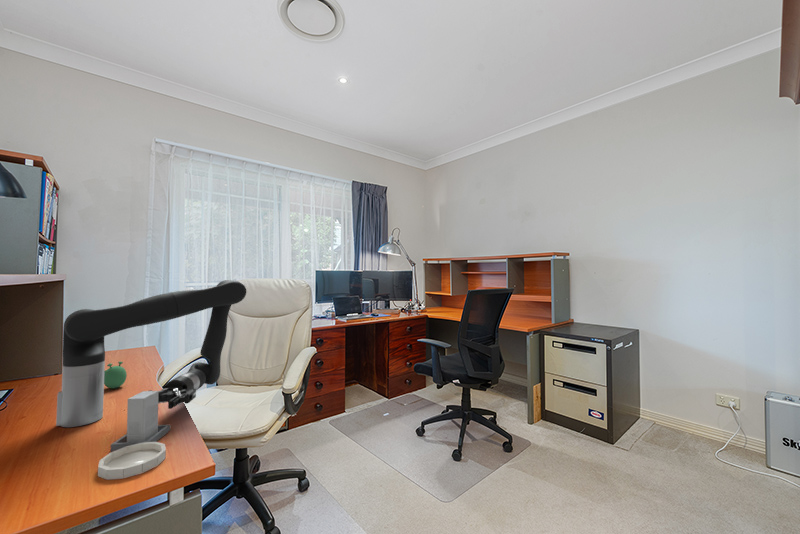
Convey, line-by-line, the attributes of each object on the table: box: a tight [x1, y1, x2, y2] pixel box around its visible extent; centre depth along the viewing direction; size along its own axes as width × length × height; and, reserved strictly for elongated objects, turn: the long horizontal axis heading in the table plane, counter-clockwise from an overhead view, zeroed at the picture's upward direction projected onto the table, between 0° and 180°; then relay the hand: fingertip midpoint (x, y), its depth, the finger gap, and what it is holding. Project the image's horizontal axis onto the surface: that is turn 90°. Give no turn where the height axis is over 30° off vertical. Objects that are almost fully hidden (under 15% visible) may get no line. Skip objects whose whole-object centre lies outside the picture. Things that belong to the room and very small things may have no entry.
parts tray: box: [110, 424, 171, 452], centre depth 88 cm, size 8×10×2 cm
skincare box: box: [126, 390, 159, 442], centre depth 88 cm, size 6×4×12 cm
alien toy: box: [104, 360, 127, 390], centre depth 130 cm, size 7×8×10 cm
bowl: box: [97, 441, 167, 480], centre depth 77 cm, size 12×12×2 cm
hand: (152, 406), depth 93 cm, fingers open, 8 cm apart
